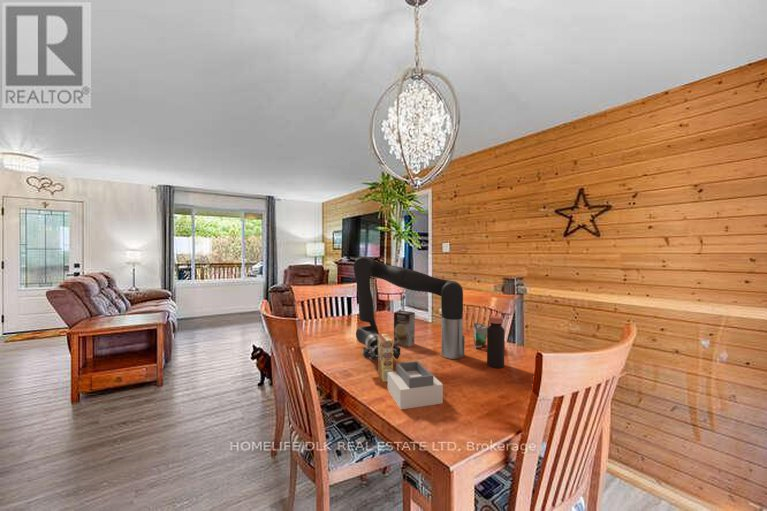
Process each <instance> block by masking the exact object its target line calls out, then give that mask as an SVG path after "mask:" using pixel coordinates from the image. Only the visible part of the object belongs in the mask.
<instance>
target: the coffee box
mask: <svg viewBox="0 0 767 511" xmlns="http://www.w3.org/2000/svg"><path fill="white" fill-rule="evenodd" d="M415 320H416V313H415V312H414V311H413V312H412V311H407V310H396V311H394V312H393V345H394V344H395V345H397V346H403V347H412V346H413V345H414V344H415V332H416V331H415V323H416V322H415Z"/></svg>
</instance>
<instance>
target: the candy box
mask: <svg viewBox="0 0 767 511" xmlns="http://www.w3.org/2000/svg"><path fill="white" fill-rule="evenodd" d="M393 345H394V339H392V338H391V336H390V335H389V334H388V333H379V334H378V357H377V362H378V363H377V366H378V368H377V370H378V376H379V377H380V379H381V381H382V383H388V372H394V356H393Z"/></svg>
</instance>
